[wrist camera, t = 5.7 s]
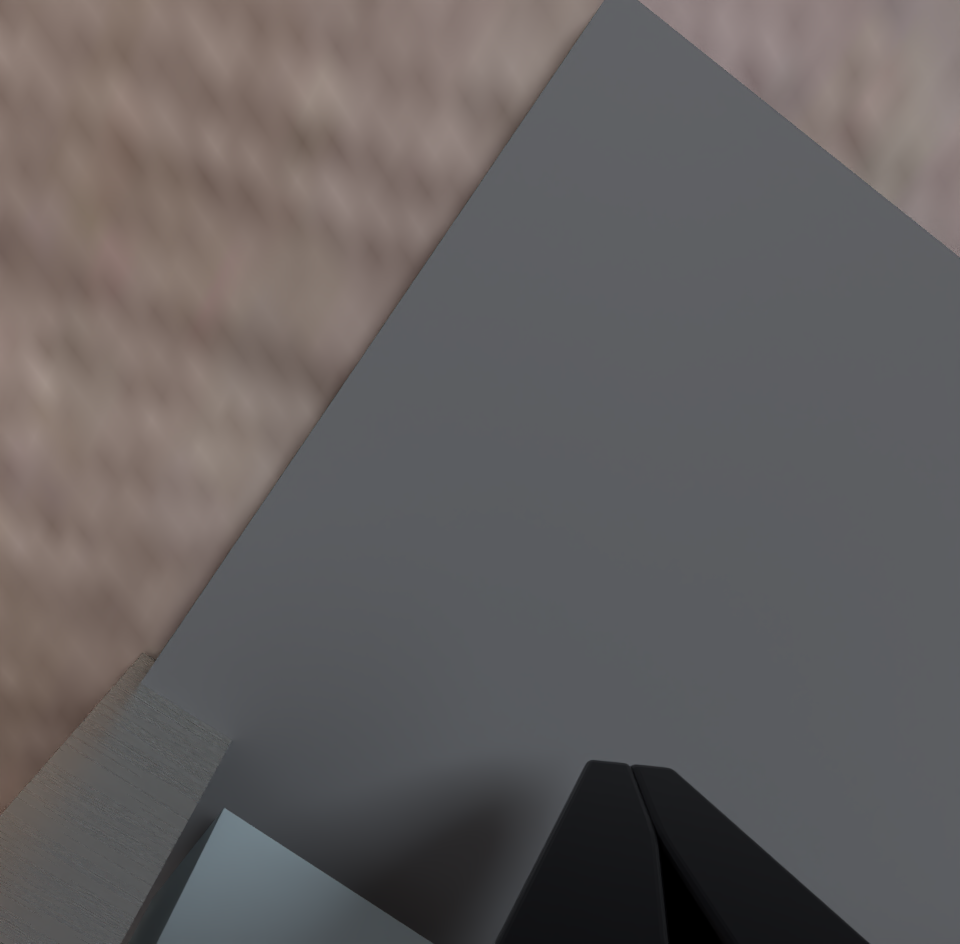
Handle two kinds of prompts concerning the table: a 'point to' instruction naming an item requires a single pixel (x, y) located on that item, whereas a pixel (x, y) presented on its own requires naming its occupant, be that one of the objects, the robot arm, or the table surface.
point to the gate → (259, 898)
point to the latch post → (103, 817)
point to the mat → (616, 524)
